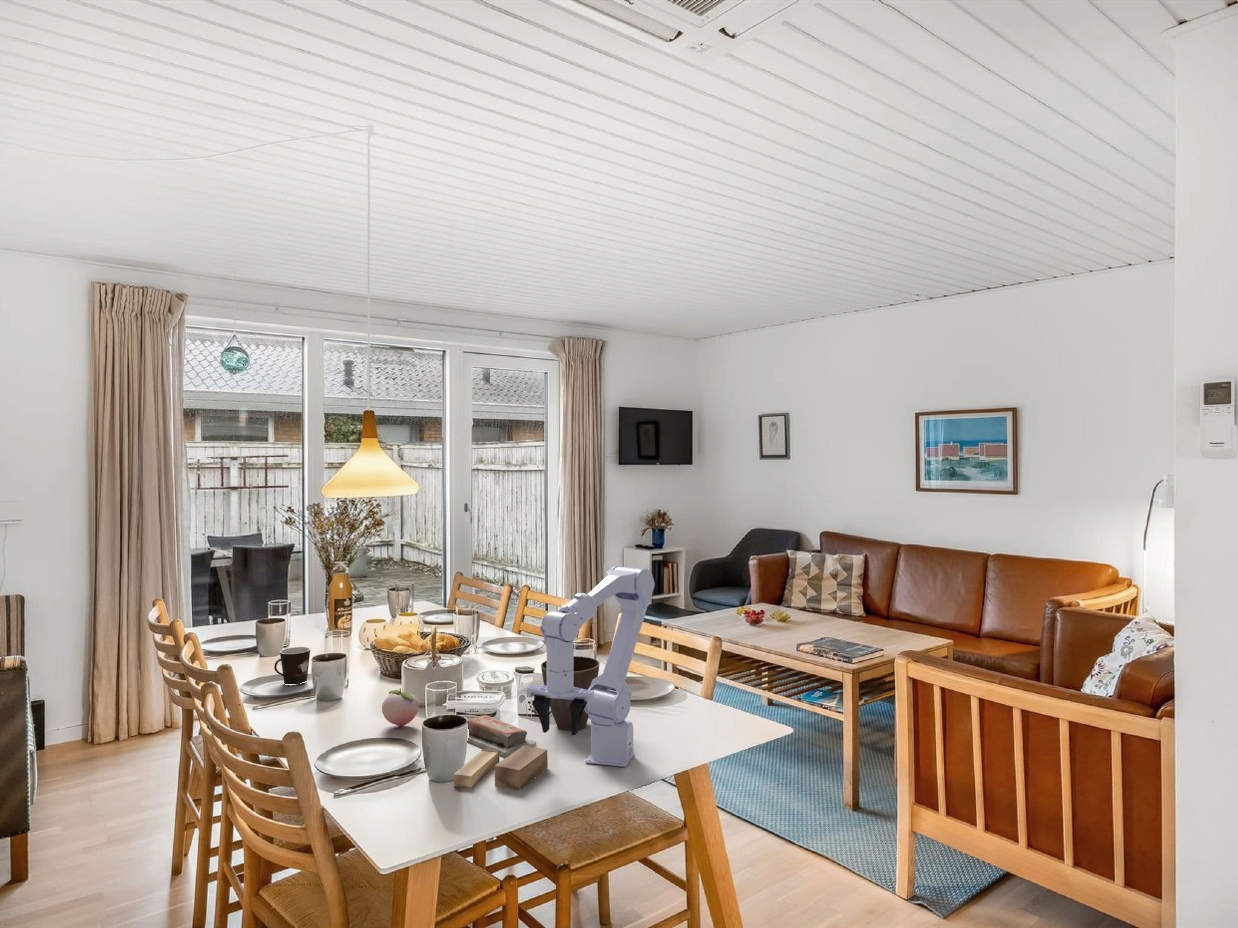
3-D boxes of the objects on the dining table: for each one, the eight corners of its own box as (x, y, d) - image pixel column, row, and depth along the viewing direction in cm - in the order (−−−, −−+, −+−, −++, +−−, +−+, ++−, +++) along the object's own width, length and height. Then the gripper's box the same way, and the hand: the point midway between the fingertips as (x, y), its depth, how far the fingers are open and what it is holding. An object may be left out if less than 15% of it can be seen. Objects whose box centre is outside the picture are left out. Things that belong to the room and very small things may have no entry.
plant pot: (544, 738, 188) (544, 673, 188) (538, 718, 203) (538, 657, 203) (605, 733, 191) (604, 669, 191) (594, 713, 206) (594, 654, 206)
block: (547, 769, 170) (547, 749, 170) (519, 791, 159) (519, 769, 159) (524, 765, 173) (523, 745, 173) (494, 786, 162) (494, 765, 162)
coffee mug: (304, 677, 242) (304, 645, 242) (315, 682, 236) (314, 650, 236) (265, 684, 234) (265, 651, 234) (275, 690, 228) (275, 657, 228)
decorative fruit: (374, 729, 195) (373, 690, 195) (396, 719, 203) (396, 681, 202) (403, 735, 191) (402, 695, 191) (424, 724, 198) (424, 686, 198)
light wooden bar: (499, 761, 174) (499, 750, 174) (471, 787, 161) (471, 775, 161) (483, 760, 175) (482, 748, 175) (453, 785, 162) (453, 773, 162)
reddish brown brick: (457, 720, 189) (490, 710, 196) (457, 740, 189) (490, 729, 196) (504, 738, 177) (537, 727, 184) (504, 759, 177) (537, 747, 184)
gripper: (520, 671, 162) (521, 735, 162) (586, 676, 158) (587, 742, 158) (533, 662, 168) (533, 724, 168) (597, 667, 164) (597, 730, 165)
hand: (560, 732), depth 164 cm, fingers open, 6 cm apart
